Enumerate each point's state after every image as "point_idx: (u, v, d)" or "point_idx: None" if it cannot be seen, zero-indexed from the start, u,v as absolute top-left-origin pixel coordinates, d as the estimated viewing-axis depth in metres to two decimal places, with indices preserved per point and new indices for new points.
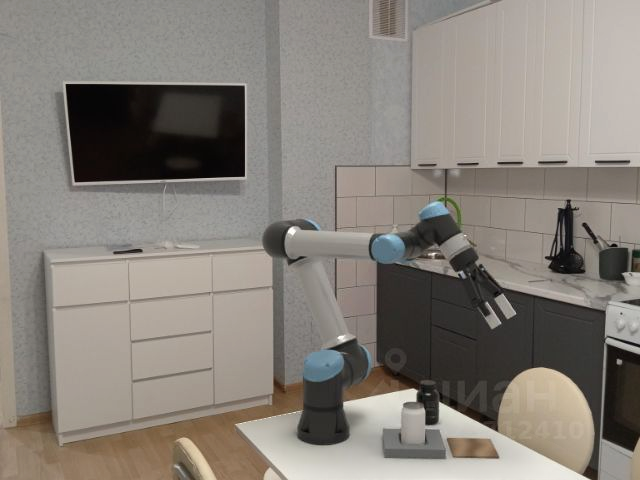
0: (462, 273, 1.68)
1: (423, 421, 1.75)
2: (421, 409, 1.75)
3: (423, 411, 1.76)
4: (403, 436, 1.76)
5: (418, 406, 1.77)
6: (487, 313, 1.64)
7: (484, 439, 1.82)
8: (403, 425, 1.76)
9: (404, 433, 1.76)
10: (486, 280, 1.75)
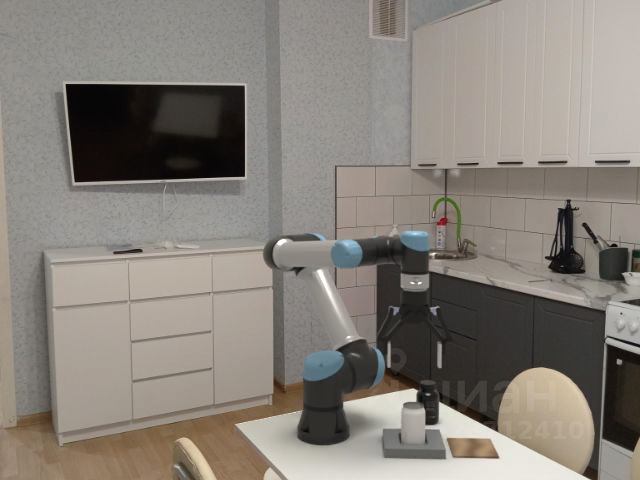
0: (389, 308, 1.75)
1: (423, 421, 1.75)
2: (421, 409, 1.75)
3: (423, 411, 1.76)
4: (403, 436, 1.76)
5: (418, 406, 1.77)
6: (383, 352, 1.76)
7: (484, 439, 1.82)
8: (403, 425, 1.76)
9: (404, 433, 1.76)
10: None
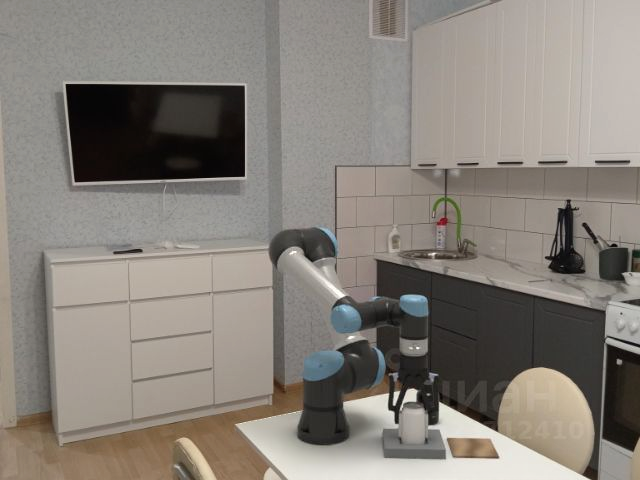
0: None
1: (423, 421, 1.75)
2: (421, 409, 1.75)
3: (423, 411, 1.76)
4: (403, 436, 1.76)
5: (418, 406, 1.77)
6: None
7: (484, 439, 1.82)
8: (403, 425, 1.76)
9: (404, 433, 1.76)
10: None
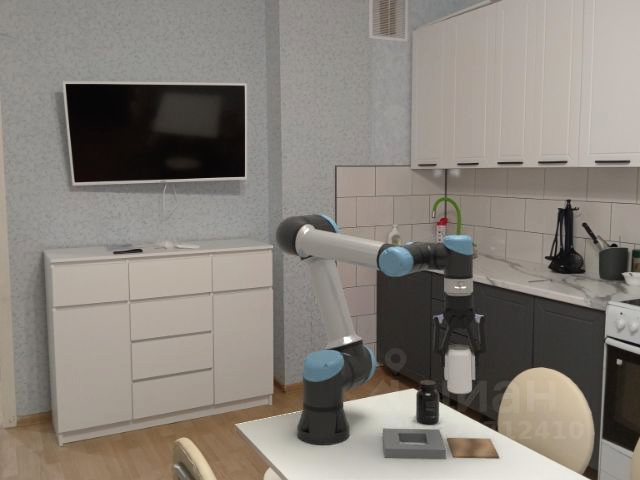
0: (433, 318, 1.74)
1: (470, 363, 1.73)
2: (467, 350, 1.72)
3: (469, 352, 1.73)
4: (449, 378, 1.74)
5: (464, 348, 1.74)
6: (440, 364, 1.75)
7: (484, 439, 1.82)
8: (449, 367, 1.73)
9: (450, 375, 1.73)
10: (466, 331, 1.73)
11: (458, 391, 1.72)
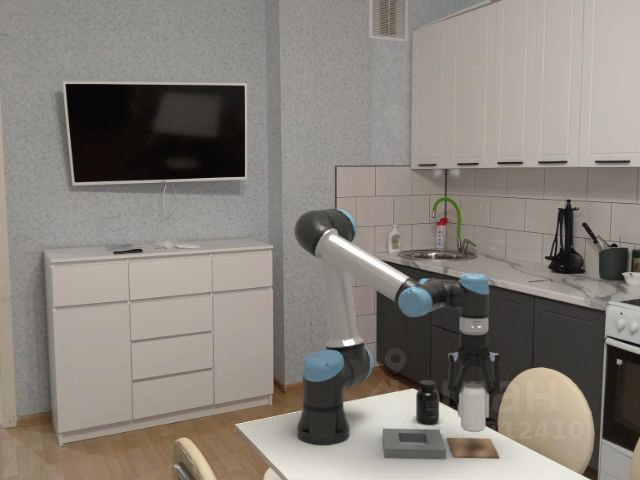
0: (448, 356, 1.75)
1: (484, 401, 1.74)
2: (482, 388, 1.74)
3: (484, 391, 1.74)
4: (464, 416, 1.75)
5: (478, 386, 1.75)
6: (454, 401, 1.76)
7: (484, 439, 1.82)
8: (464, 405, 1.74)
9: (465, 413, 1.74)
10: (481, 370, 1.74)
11: (472, 428, 1.73)
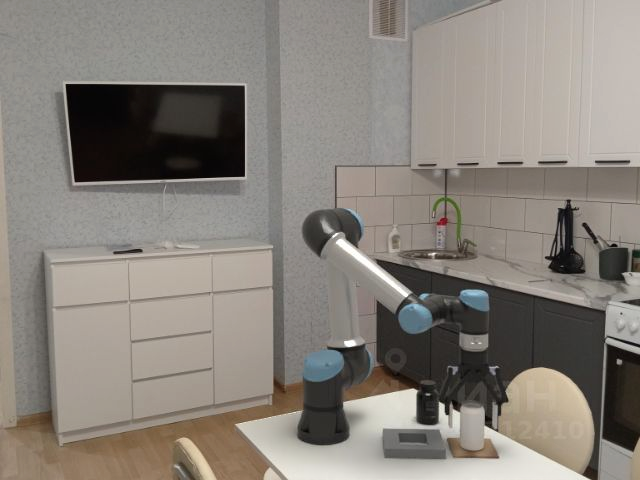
0: (447, 368, 1.75)
1: (483, 420, 1.74)
2: (481, 408, 1.74)
3: (483, 410, 1.74)
4: (462, 435, 1.75)
5: (477, 405, 1.76)
6: (445, 413, 1.76)
7: (484, 439, 1.82)
8: (462, 424, 1.75)
9: (463, 432, 1.75)
10: (484, 384, 1.74)
11: (470, 448, 1.74)
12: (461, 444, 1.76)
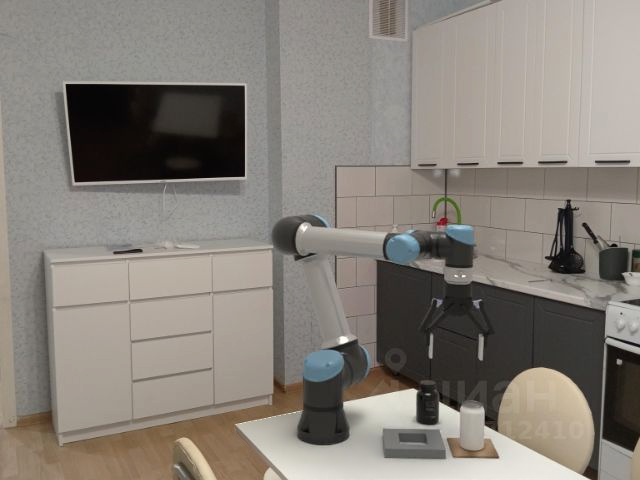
0: (432, 300, 1.78)
1: (483, 420, 1.74)
2: (481, 408, 1.74)
3: (483, 410, 1.75)
4: (462, 435, 1.75)
5: (477, 405, 1.76)
6: (425, 343, 1.79)
7: (484, 439, 1.82)
8: (462, 424, 1.75)
9: (463, 432, 1.75)
10: (469, 317, 1.77)
11: (470, 448, 1.74)
12: (461, 444, 1.76)
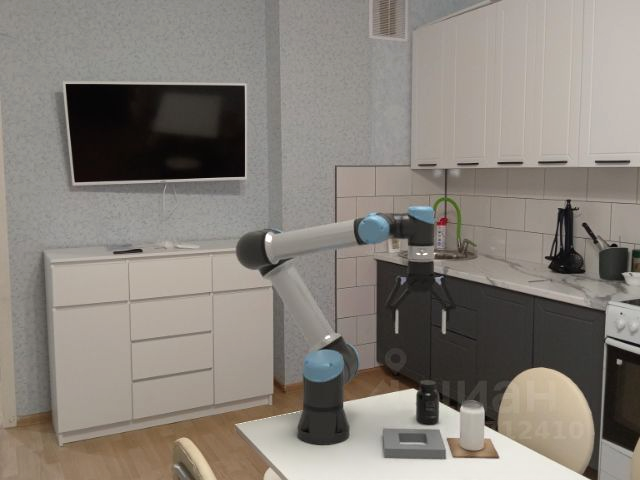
0: None
1: (483, 420, 1.74)
2: (481, 408, 1.74)
3: (483, 410, 1.75)
4: (462, 435, 1.75)
5: (477, 405, 1.76)
6: None
7: (484, 439, 1.82)
8: (462, 424, 1.75)
9: (463, 432, 1.75)
10: (432, 293, 1.87)
11: (470, 448, 1.74)
12: (461, 444, 1.76)
